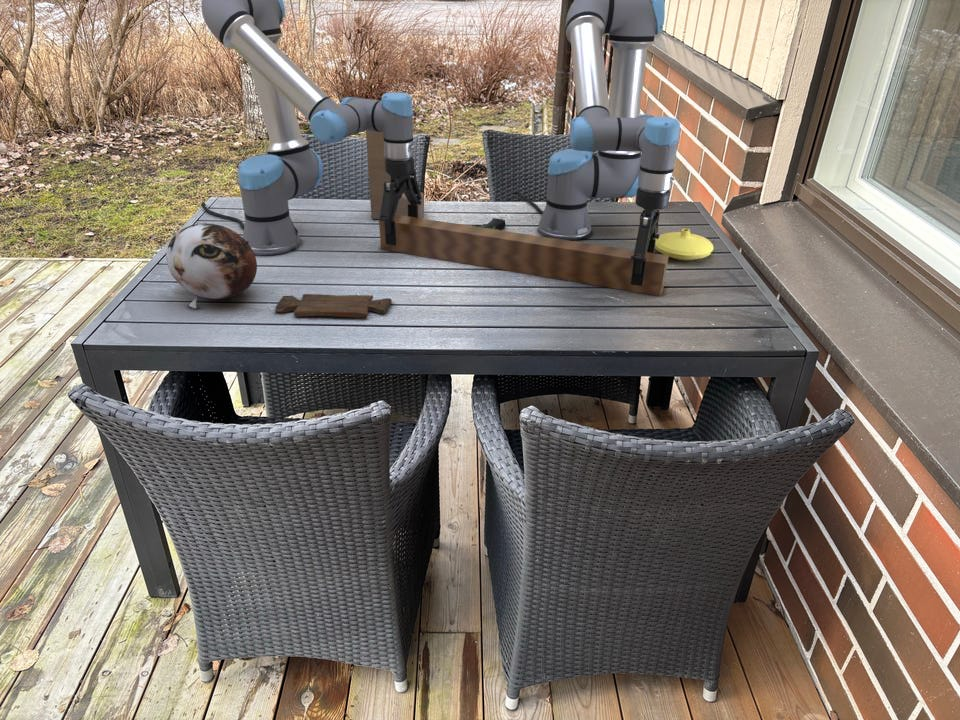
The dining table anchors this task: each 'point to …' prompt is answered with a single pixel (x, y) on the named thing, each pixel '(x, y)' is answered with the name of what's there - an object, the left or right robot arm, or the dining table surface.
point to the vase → (683, 245)
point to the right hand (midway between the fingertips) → (641, 273)
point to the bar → (525, 253)
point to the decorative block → (382, 177)
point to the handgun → (494, 224)
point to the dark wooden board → (333, 305)
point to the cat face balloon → (211, 261)
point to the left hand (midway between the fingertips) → (402, 235)
